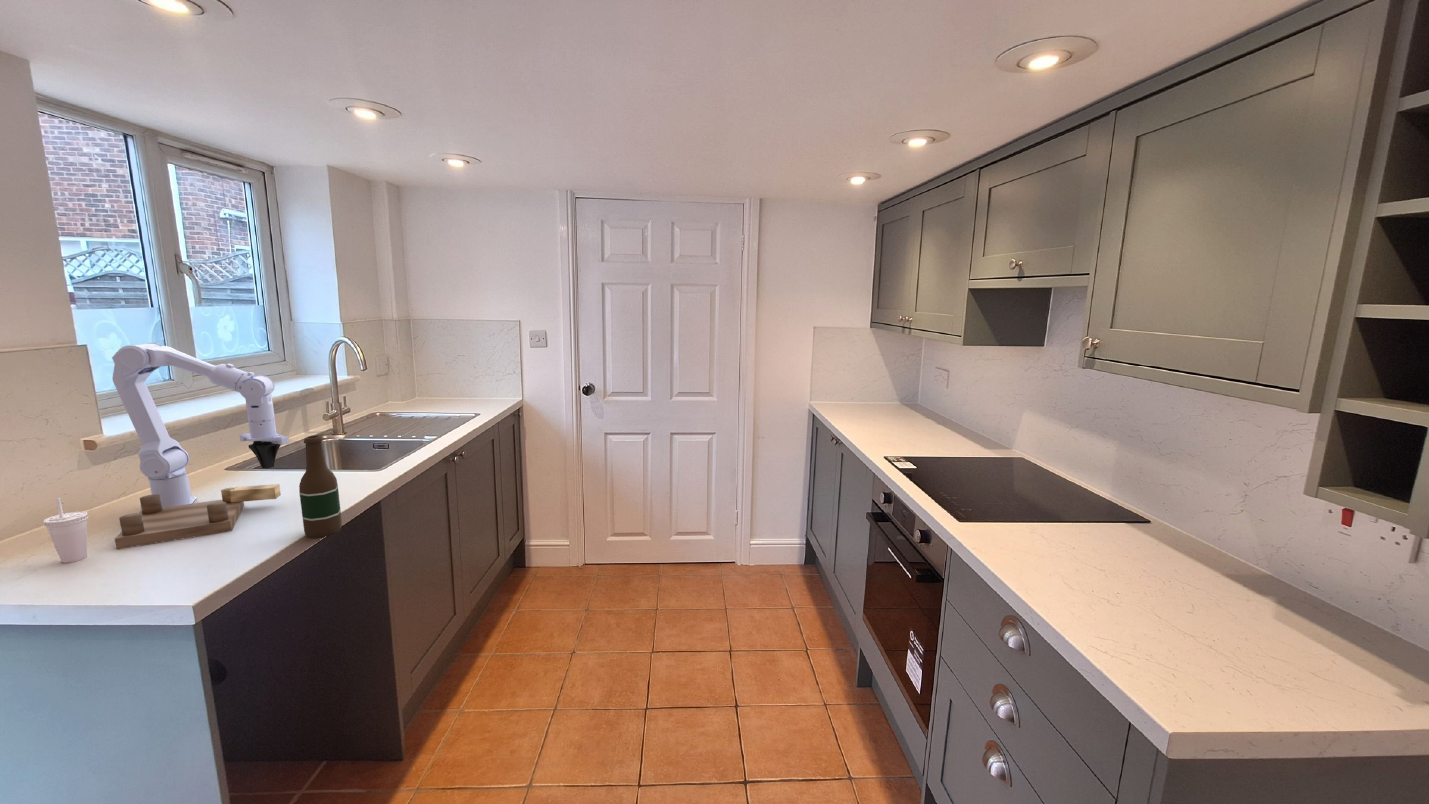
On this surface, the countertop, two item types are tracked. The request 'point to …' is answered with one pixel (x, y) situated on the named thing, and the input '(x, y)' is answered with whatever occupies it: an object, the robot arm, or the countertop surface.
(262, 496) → the oak leg
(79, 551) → the smoothie
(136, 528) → the stool seat
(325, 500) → the beer bottle
